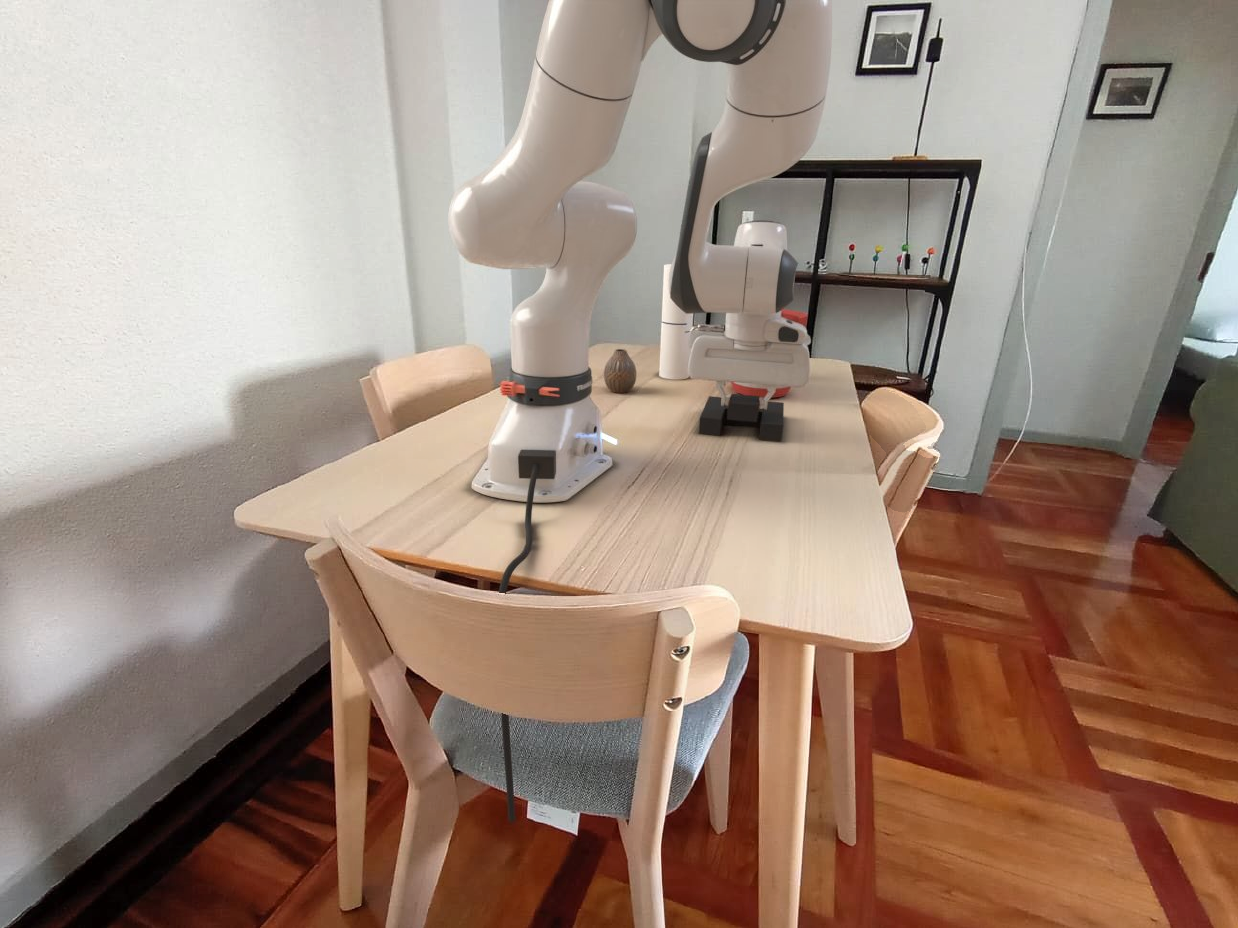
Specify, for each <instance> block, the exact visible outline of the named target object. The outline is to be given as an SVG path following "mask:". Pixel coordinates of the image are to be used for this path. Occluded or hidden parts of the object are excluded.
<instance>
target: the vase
mask: <svg viewBox="0 0 1238 928" xmlns="http://www.w3.org/2000/svg"><path fill="white" fill-rule="evenodd" d="M603 380H604V383H605V385H606V387H607V389H608V391H610V392H612V393H615V394H616V393H617V394H624V393H629V392H630V391H631V390H632V389H633V388H634V386H635V384H636V382H637V368H636V364H635V362H634V360H632V358H631V356H630V355H629V354H628V351H627V350H626V349H625V348H617V349H614V351H613V354H612V355H611V357H610V358H609V359H608V360H607V362H606V363H605V367H604V370H603Z"/></svg>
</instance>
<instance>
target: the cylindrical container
mask: <svg viewBox="0 0 1238 928" xmlns="http://www.w3.org/2000/svg"><path fill="white" fill-rule="evenodd" d="M671 265H672V263H667V264H663V281H662V303H661V304H662V305H661V323H660V324H661V325H660V326H661V328H660V347H659V348H660V349H659V370H658V376H659V377H660V378H663V379H666V380H676V381H677V380H686V379H688V378H690V376H689V374H688V363H689V358H690V353H691V348H690V347H689V343H688V340H689V332H690V330H691V329H692V328H693V327H694V326H693V325H694V314H686V313H685V312H684V311H682V310H681V309H680V308H679V307H678V306H677V305H676V304H675V303H674V302H673V301H672V299H671V298H670V293H669V273H670V268H671Z"/></svg>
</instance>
